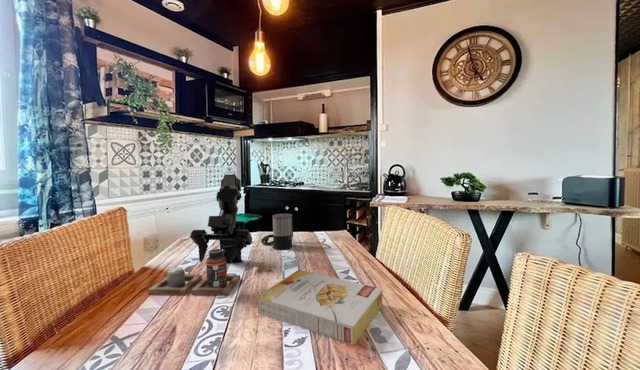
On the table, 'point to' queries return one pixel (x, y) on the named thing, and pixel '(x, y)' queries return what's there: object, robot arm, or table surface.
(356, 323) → the cereal box
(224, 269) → the supplement bottle
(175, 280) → the seated grey knob
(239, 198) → the robot arm
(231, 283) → the walnut twin holder
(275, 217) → the milk frother
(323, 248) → the table surface
